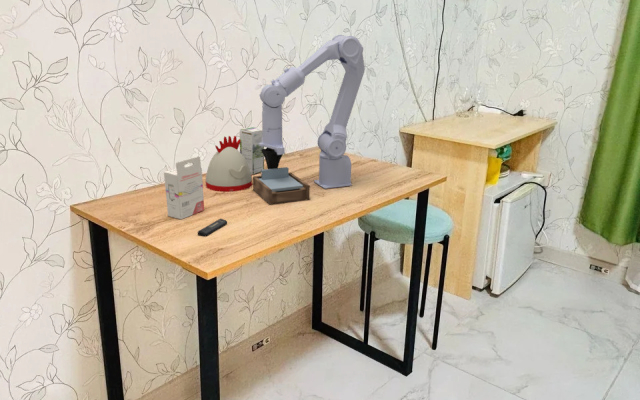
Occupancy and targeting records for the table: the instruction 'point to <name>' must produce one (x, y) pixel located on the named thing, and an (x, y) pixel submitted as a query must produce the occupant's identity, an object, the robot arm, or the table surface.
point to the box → (281, 192)
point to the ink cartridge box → (184, 189)
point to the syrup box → (252, 148)
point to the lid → (279, 179)
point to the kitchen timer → (228, 168)
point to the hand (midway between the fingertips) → (272, 173)
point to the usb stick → (212, 227)
